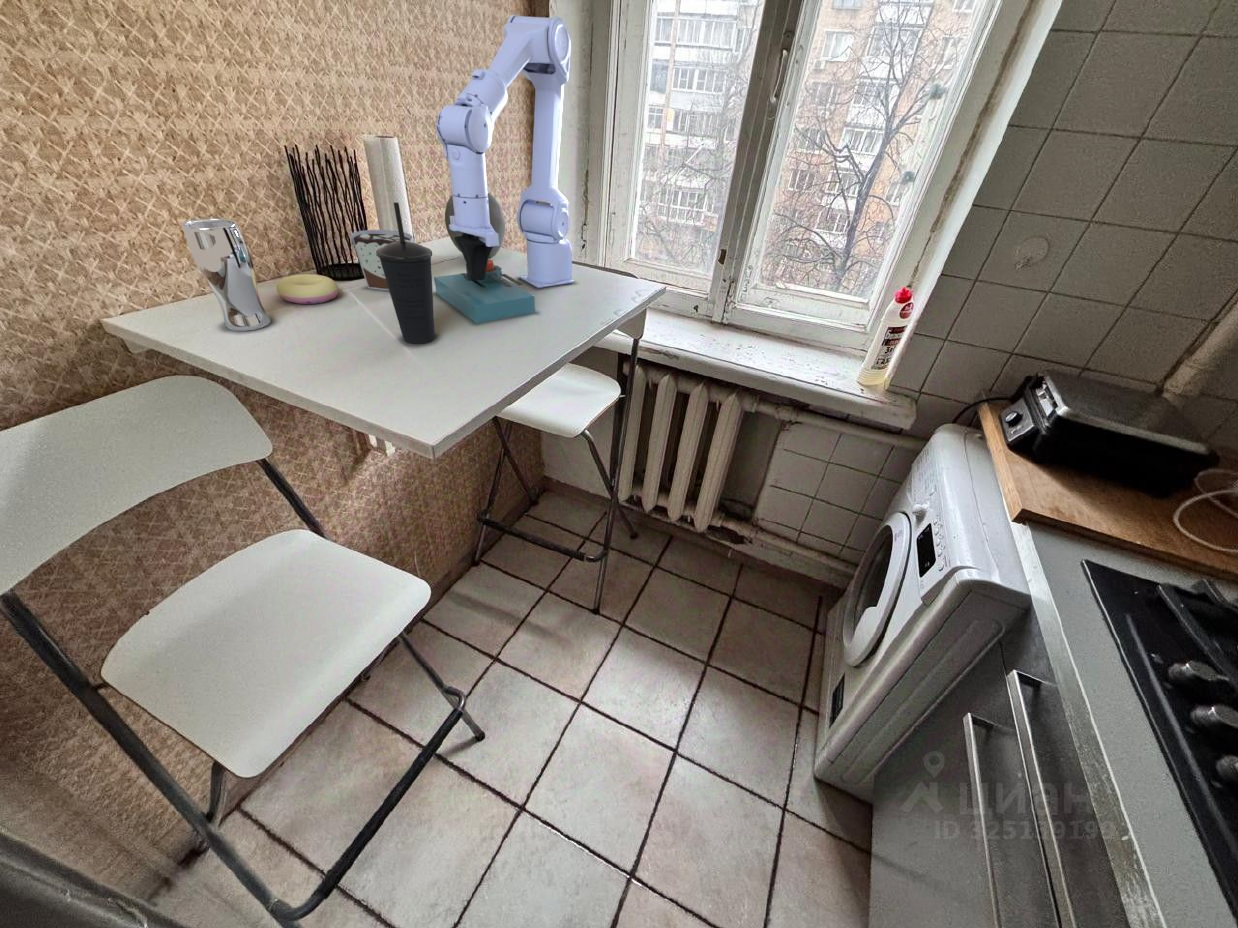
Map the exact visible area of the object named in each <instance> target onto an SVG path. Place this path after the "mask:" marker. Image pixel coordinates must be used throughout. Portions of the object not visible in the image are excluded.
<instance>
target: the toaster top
mask: <svg viewBox="0 0 1238 928" xmlns="http://www.w3.org/2000/svg"><path fill="white" fill-rule="evenodd" d="M465 273H466V272H463V273H458V274H459V275H461V274H462V275H463V276H464V275H466V274H465ZM454 275H455V274H454ZM500 275H502V278H504V279H506V280H507V281H509V282H511V283H513V284H514V285H516V286H524V284H523V283H522V282H521V281H518V280H517V279H516V278H513V277H511V276H510V275H508V274H506V273H502V274H500ZM455 276H458V275H455ZM489 277H491V278H493V279H494V280H496V281H498V282H499V283H501V284H503V285H504V286H506V287H512V286H511V285H509V284H508V283H506V282H504V281H502V280H501V279H499V278H497V277H496V276H494V275H492V276H489ZM471 281H473V282H474V283H476V284H477V285H479V286H480V287H485V286H484V285H482V284H481V283H479V282H477V281H474V280H471Z"/></svg>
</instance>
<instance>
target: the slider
mask: <svg viewBox="0 0 1238 928" xmlns="http://www.w3.org/2000/svg"><path fill="white" fill-rule="evenodd" d="M465 270H466V273H467V275H464V278H465V279H467V280H468V281H471V280H472V279H471V277H470V274H469V271H468V268H467V265H466V264H465Z"/></svg>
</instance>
